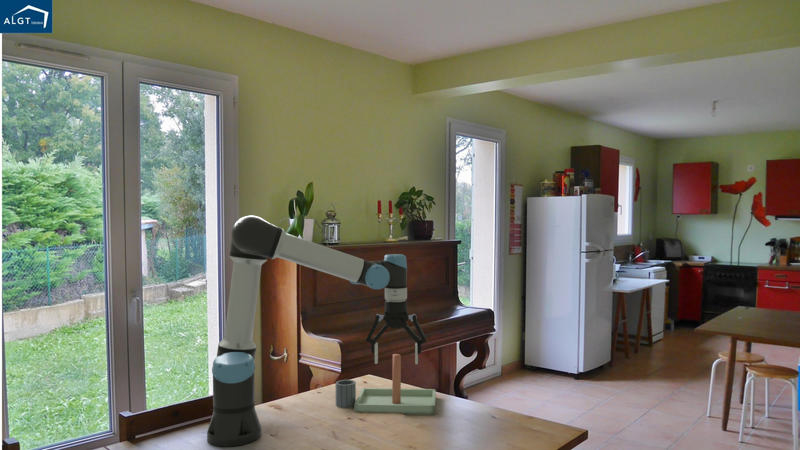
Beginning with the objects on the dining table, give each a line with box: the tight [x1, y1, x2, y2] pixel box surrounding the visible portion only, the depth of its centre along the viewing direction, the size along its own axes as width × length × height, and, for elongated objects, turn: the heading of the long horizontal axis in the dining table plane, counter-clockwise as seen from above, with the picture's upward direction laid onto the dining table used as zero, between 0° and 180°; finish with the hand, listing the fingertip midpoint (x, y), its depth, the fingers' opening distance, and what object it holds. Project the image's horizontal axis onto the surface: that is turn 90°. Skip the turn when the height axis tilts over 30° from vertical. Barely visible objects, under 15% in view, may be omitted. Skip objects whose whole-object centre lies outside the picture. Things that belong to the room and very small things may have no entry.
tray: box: [353, 387, 437, 416], centre depth 193 cm, size 26×18×3 cm
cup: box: [335, 379, 357, 409], centre depth 193 cm, size 7×7×8 cm
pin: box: [391, 353, 402, 404], centre depth 194 cm, size 6×3×16 cm, turn 86°
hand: (396, 363), depth 193 cm, fingers open, 13 cm apart
